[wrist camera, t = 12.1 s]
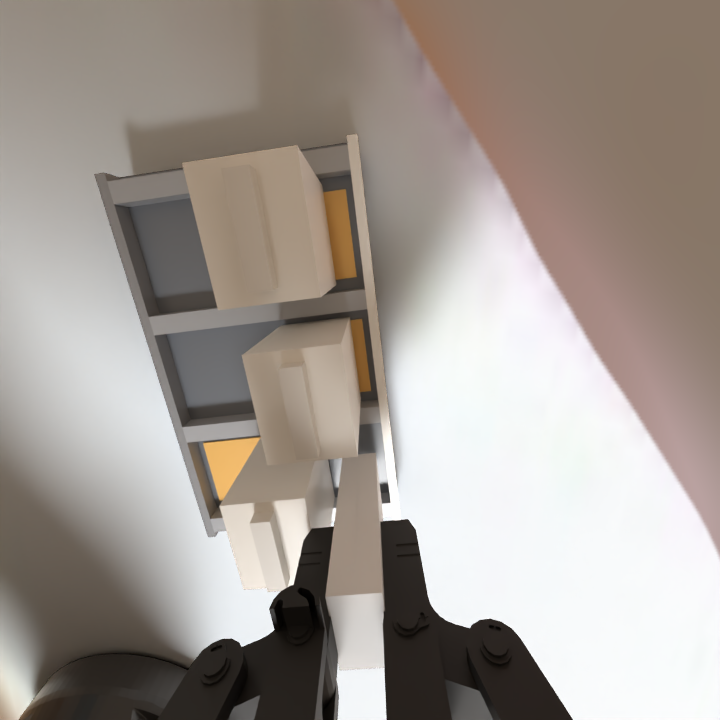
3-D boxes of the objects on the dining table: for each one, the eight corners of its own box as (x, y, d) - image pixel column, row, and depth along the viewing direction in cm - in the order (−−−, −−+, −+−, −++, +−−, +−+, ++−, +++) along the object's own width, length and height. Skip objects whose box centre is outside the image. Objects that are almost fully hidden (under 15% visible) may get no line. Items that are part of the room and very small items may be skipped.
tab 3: (276, 502, 17) (239, 602, 12) (261, 436, 16) (212, 516, 11) (334, 496, 17) (320, 597, 12) (323, 429, 16) (301, 508, 11)
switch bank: (226, 506, 20) (208, 537, 18) (134, 186, 15) (94, 174, 13) (397, 490, 19) (400, 520, 17) (359, 153, 14) (357, 133, 12)
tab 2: (296, 405, 16) (263, 474, 11) (281, 325, 15) (235, 360, 10) (360, 398, 16) (357, 465, 10) (349, 316, 14) (339, 348, 9)
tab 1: (266, 293, 14) (210, 312, 9) (246, 196, 13) (170, 157, 8) (336, 284, 14) (318, 299, 9) (322, 185, 13) (292, 138, 8)
